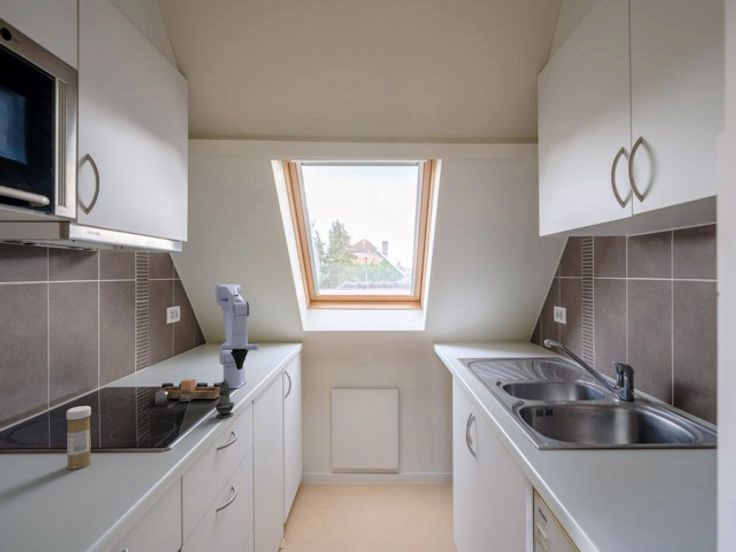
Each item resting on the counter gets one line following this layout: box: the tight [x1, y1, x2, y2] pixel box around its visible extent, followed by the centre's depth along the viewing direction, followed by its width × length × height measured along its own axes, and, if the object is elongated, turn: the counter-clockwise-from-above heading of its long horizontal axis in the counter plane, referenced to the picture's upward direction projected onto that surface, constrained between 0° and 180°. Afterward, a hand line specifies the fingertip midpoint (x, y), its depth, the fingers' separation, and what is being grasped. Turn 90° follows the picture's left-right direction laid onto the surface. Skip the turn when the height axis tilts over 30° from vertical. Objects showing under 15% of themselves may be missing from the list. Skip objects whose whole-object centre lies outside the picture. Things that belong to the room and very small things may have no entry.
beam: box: [155, 386, 220, 403], centre depth 140 cm, size 22×7×4 cm, turn 86°
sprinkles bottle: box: [66, 405, 92, 470], centre depth 89 cm, size 5×5×14 cm
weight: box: [154, 391, 169, 407], centre depth 135 cm, size 4×4×4 cm
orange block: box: [180, 378, 196, 391], centre depth 140 cm, size 4×3×4 cm
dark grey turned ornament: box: [214, 378, 235, 419], centre depth 122 cm, size 6×6×12 cm
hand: (239, 369), depth 144 cm, fingers closed
